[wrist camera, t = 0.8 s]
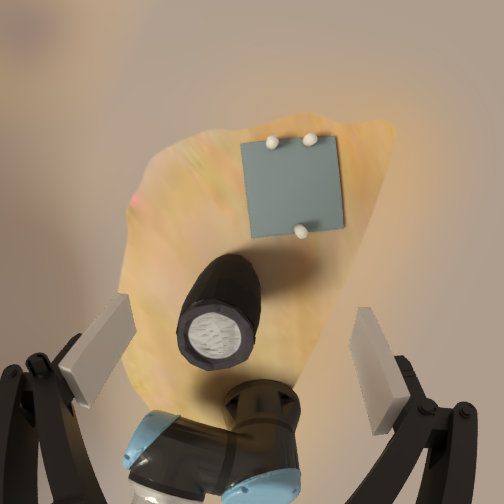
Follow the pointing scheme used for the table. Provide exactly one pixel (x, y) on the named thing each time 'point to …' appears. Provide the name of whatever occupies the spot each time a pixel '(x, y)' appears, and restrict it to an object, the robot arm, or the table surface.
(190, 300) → the portable speaker
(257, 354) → the table surface
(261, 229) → the pin pad
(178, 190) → the table surface
